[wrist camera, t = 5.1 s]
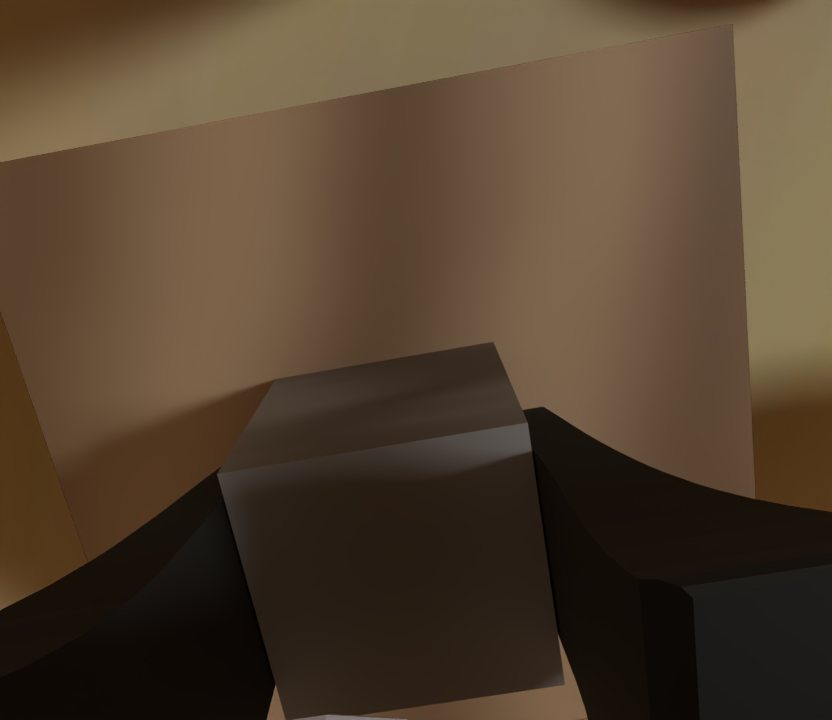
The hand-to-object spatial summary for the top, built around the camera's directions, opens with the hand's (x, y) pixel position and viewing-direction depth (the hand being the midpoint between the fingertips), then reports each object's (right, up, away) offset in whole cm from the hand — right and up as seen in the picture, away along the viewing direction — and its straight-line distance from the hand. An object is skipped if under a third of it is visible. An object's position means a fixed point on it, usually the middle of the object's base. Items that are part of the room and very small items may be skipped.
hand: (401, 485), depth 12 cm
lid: (0, 0, +3) cm, 3 cm away
